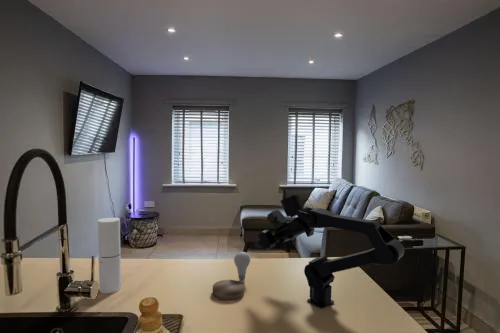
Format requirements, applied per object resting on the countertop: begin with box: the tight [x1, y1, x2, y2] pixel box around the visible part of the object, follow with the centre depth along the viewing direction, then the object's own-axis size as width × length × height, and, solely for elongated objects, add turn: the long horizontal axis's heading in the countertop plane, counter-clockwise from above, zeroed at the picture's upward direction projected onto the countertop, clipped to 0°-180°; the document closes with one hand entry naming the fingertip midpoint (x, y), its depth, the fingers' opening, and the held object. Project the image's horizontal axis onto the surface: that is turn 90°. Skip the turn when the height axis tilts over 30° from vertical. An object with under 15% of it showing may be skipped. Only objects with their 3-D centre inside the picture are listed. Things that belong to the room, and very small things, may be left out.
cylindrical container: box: [97, 216, 122, 294], centre depth 123 cm, size 7×7×25 cm
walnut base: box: [212, 279, 245, 301], centre depth 122 cm, size 11×11×2 cm
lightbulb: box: [233, 251, 251, 281], centre depth 133 cm, size 6×6×11 cm
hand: (262, 243), depth 130 cm, fingers open, 9 cm apart
